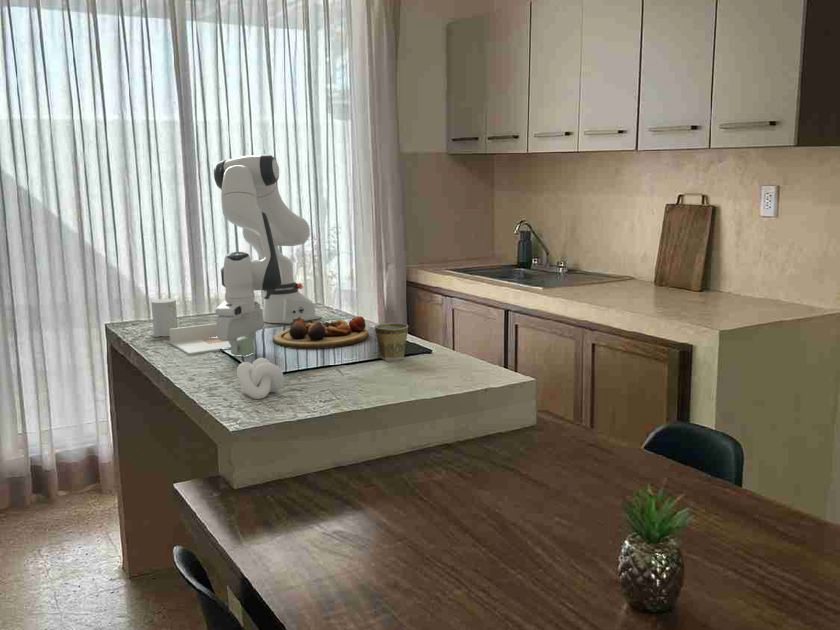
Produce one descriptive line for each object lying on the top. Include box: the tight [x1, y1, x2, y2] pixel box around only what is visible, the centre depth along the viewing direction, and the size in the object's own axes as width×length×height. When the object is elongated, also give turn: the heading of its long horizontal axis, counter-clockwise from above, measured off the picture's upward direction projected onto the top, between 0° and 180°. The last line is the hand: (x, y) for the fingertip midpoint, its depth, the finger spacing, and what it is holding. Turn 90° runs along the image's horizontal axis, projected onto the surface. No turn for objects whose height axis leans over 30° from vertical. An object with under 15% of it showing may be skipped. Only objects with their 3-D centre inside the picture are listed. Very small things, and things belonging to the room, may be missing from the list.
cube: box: [230, 337, 255, 356], centre depth 255 cm, size 5×5×5 cm
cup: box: [150, 298, 179, 337], centre depth 287 cm, size 8×8×12 cm
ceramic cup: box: [374, 322, 409, 362], centre depth 248 cm, size 13×10×10 cm
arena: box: [169, 322, 248, 356], centre depth 270 cm, size 20×20×5 cm
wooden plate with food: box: [272, 315, 369, 350], centre depth 277 cm, size 32×32×8 cm
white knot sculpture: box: [236, 357, 285, 400], centre depth 210 cm, size 11×12×9 cm
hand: (242, 349), depth 255 cm, fingers open, 6 cm apart
